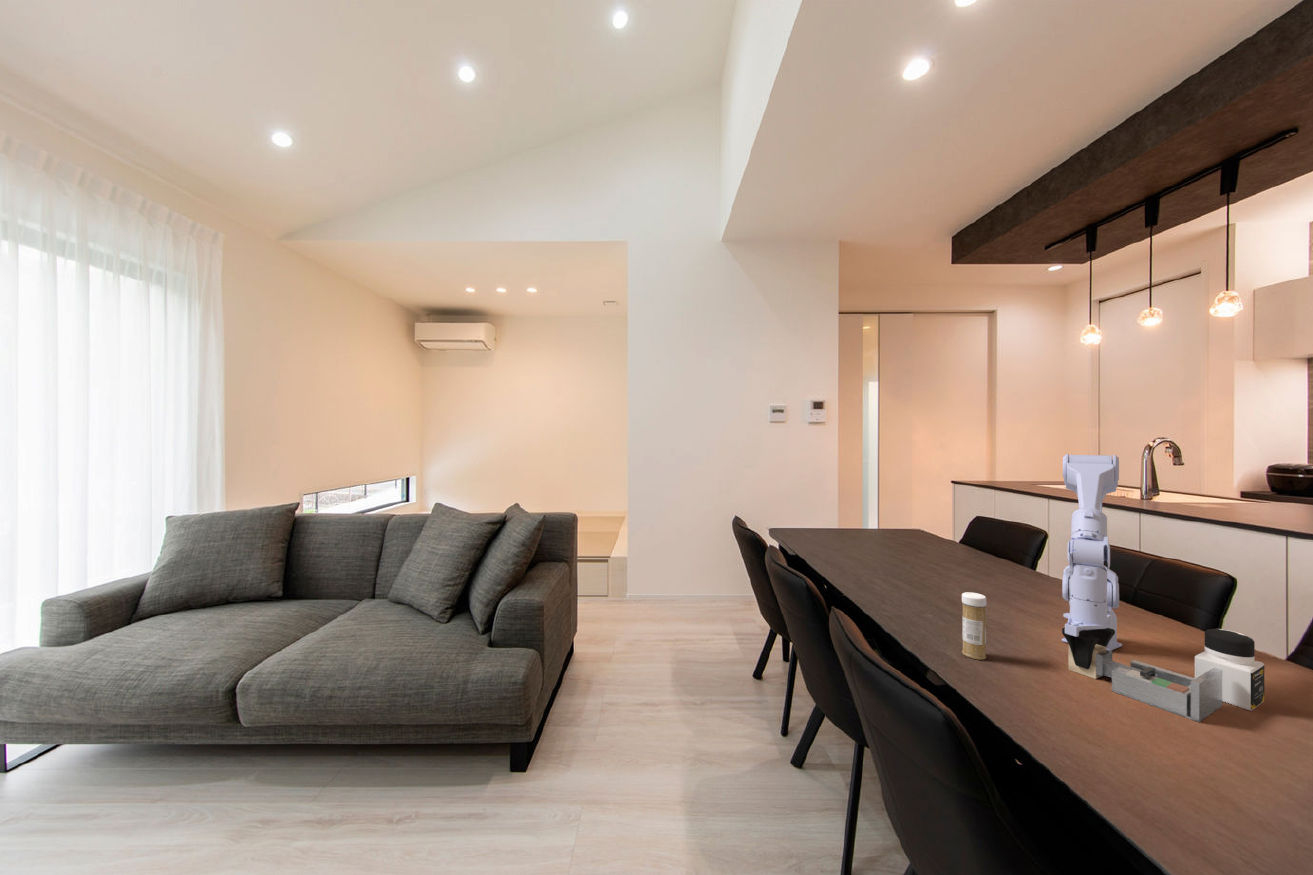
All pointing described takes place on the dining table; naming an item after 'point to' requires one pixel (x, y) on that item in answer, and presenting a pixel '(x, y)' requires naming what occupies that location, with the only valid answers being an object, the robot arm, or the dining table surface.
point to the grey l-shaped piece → (1117, 665)
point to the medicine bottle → (1233, 667)
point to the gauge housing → (1171, 690)
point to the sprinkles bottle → (974, 625)
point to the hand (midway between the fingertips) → (1088, 664)
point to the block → (1092, 670)
